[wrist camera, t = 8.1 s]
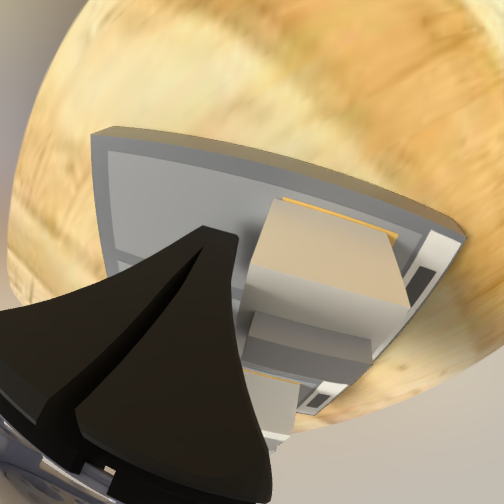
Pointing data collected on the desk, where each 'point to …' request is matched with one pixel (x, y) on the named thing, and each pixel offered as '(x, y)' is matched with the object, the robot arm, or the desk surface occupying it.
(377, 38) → the desk surface
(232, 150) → the switch panel
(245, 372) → the tab
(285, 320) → the tab
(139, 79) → the desk surface
